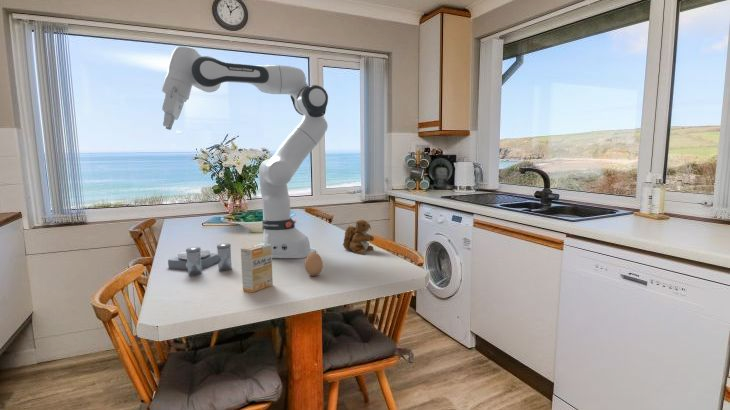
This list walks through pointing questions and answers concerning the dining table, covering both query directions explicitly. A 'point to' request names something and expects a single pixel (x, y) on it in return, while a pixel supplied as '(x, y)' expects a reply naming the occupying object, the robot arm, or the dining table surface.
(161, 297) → the dining table surface
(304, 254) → the robot arm
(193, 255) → the cylinder
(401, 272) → the dining table surface
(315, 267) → the egg
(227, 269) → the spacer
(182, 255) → the pan
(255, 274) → the supplement box
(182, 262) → the scale
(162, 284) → the dining table surface
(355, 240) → the stuffed squirrel
